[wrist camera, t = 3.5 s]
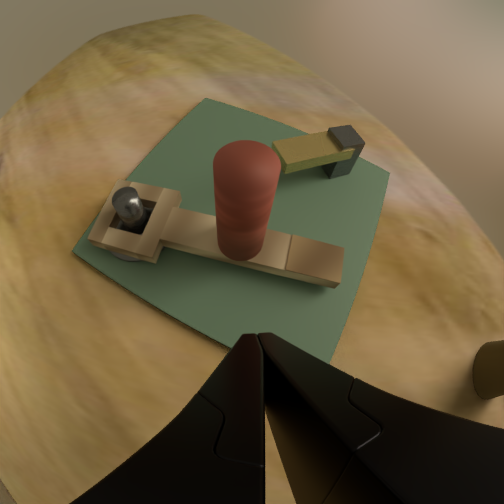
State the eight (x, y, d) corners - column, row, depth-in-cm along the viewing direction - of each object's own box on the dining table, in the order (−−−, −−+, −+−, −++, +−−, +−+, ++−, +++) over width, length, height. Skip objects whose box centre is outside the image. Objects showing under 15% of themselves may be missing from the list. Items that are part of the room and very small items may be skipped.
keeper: (334, 159, 28) (349, 124, 23) (348, 178, 27) (366, 143, 22) (266, 176, 26) (273, 137, 22) (278, 198, 25) (288, 159, 21)
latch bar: (93, 245, 21) (37, 174, 12) (122, 187, 23) (88, 106, 15) (331, 307, 20) (396, 256, 12) (340, 238, 23) (391, 163, 14)
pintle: (149, 279, 21) (131, 254, 17) (92, 243, 22) (69, 215, 18) (192, 215, 24) (185, 180, 20) (134, 188, 25) (121, 154, 20)
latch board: (316, 387, 19) (318, 387, 18) (75, 253, 22) (71, 251, 21) (387, 176, 28) (389, 172, 27) (205, 101, 30) (205, 97, 30)
